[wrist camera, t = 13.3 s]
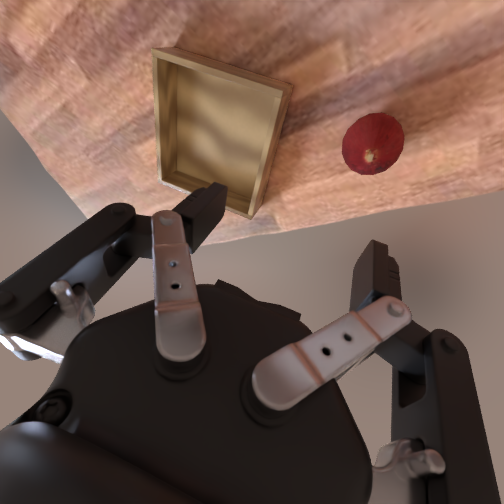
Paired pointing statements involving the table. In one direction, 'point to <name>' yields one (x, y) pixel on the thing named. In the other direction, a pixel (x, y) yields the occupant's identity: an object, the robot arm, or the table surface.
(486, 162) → the table surface
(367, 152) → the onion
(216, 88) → the tray
